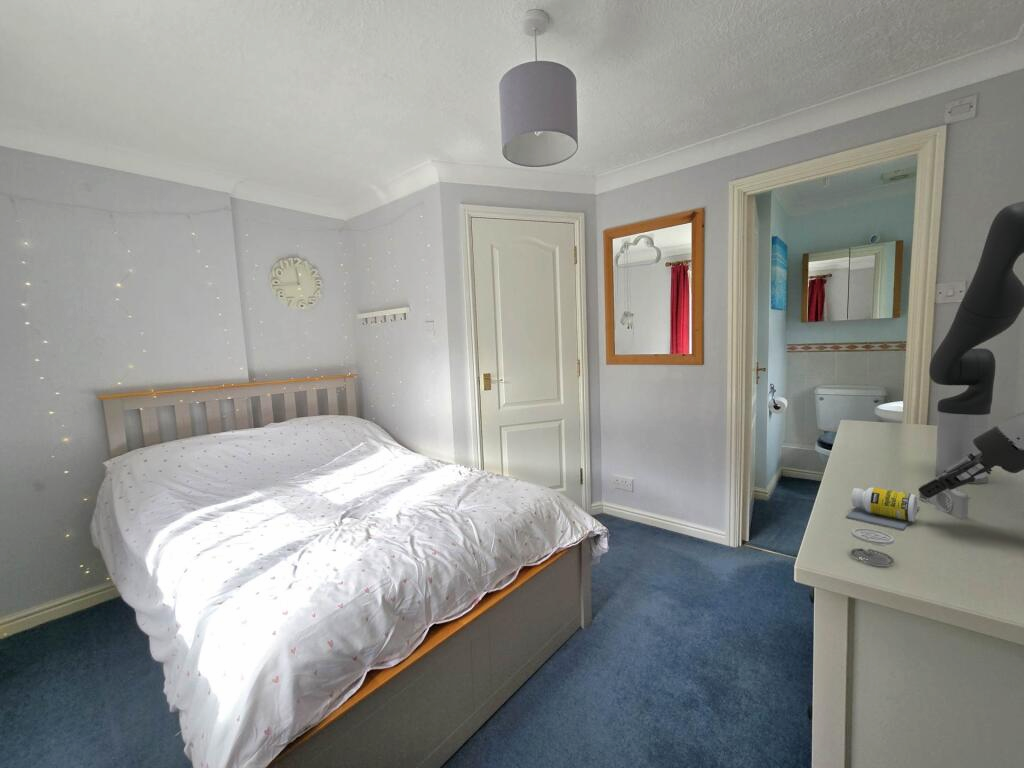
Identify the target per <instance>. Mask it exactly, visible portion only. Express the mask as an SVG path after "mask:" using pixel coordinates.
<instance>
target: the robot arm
mask: <svg viewBox="0 0 1024 768" xmlns="http://www.w3.org/2000/svg"><path fill="white" fill-rule="evenodd" d="M984 243H985V244H984V246H983V249H982V252H981V256H980V259H979V262H978V266H977V268H976V271H975V273H974V275H973V278H972V280H971V282H970V284H969V286H968V288H967V290H966V292H965V293H964V296H963V298H962V299H961V302H960V304H959V307H958V309H957V312H956V313H955V317H954V319H953V322H952V324H951V325H950V328H949V330H948V331H947V334H946V335H945V337H944V338H943V340H942V341H941V343H940V344H939V346H938V347H937V349H936V351H935V352H934V354H933V356H932V358H931V361H930V364H929V371H928V372H929V377H930V379H931V381H932V382H934V383H935V384H937V385H940V386H968V387H967V389H966V390H965V391H963V392H961V393H959V394H956V395H954V396H951V397H950V396H949V397H946V398H941V399H940V400H938V402H937V418H936V420H937V423H936V453H935V454H936V455H935V457H936V458H935V459H936V460H935V478H934V479H932V480H930V481H928V482H926V483H925V484H922V486H920V487H918V493H919V492H921V493H922V494H923V495H924V496H925V497H926V498H931V497H933V496H934V495H936V494H938V493H940V492H942V491H944V490H946V489H949V490H951V489H952V490H953V489H955V488H956V489H958V488H959V487H961V486H966V485H968V484H975V485H976V484H986V483H988V482H989V476H990V475H991V474H992V471H993V468H994V467H999V468H1002V470H1004V471H1006V472H1008V473H1009V474H1010V473H1011V474H1018V473H1019V472H1022V471H1024V412H1021V413H1017V414H1016V415H1014V416H1012V417H1010V418H1008V419H1007V420H1005V421H1003V422H1001V423H999V424H997V425H996V426H994V427H992V428H991V409H992V403H993V399H994V398H993V397H994V396H993V394H994V385H995V376H996V364H997V363H996V358H995V354H994V352H993V351H991V350H990V349H988V348H975V347H977V346H980V345H981V344H983V343H985V342H987V341H988V340H989V341H990V340H991V339H993V338H994V337H997V336H998V335H1000V334H1002V333H1003V332H1005V331H1006V330H1008V329H1010V328H1011V327H1012V325H1013V324H1014V323H1015V322H1016V320H1017V319H1018V318H1019V315H1020V314H1021V312H1022V311H1023V308H1024V284H1023V282H1022V281H1021V280H1020V279H1019V277H1018V275H1017V274H1016V273H1015V271H1014V270H1013V269H1014V266H1015V263H1016V262H1017V260H1018V258H1019V257H1020V256H1021V255H1022V254H1024V200H1022V201H1019V202H1015V203H1012V204H1009V205H1007V206H1005V207H1003V208H1002V209H1001V210H999V211H998V213H997V214H996V215H995V217H994V218H993V220H992V223H991V225H990V227H989V231H988V234H987V237H986V239H985V242H984Z"/></svg>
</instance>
